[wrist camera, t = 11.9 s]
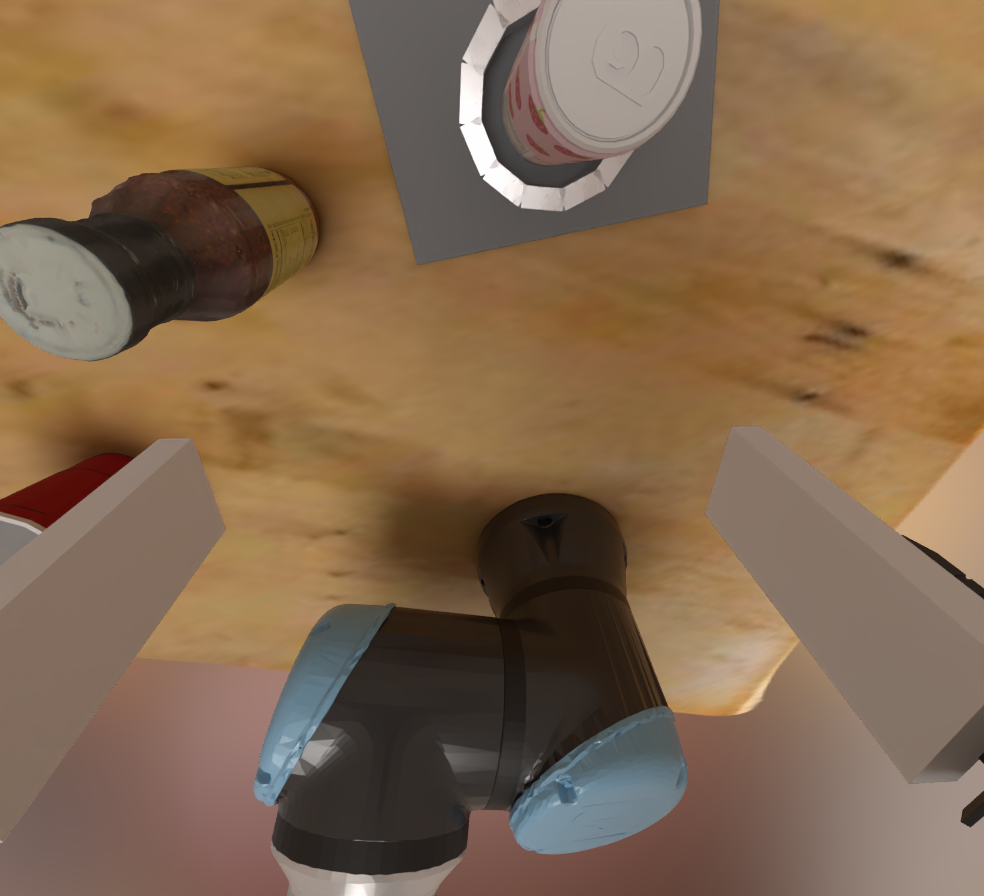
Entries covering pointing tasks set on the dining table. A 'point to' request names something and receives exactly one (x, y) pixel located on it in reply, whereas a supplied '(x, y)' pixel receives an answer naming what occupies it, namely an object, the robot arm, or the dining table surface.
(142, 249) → the sauce bottle
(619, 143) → the beverage can
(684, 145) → the holder mat
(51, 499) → the plastic cup
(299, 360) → the dining table surface
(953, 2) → the dining table surface
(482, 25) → the white segmented ring
